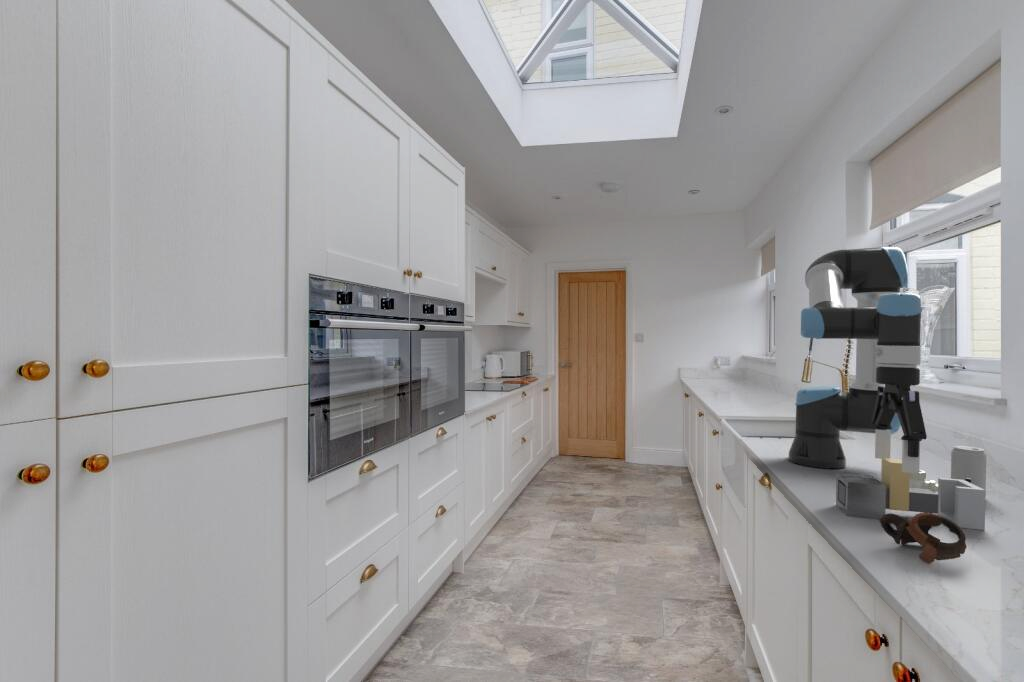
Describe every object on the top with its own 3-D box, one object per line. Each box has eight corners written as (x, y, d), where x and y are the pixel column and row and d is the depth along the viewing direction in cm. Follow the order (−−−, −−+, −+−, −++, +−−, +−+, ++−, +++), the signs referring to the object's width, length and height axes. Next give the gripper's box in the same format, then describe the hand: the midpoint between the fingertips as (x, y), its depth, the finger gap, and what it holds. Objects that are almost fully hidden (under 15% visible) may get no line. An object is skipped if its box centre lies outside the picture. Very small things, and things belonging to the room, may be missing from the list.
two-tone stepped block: (838, 499, 115) (839, 454, 115) (927, 507, 110) (928, 461, 110) (844, 505, 111) (845, 459, 111) (938, 514, 106) (939, 466, 106)
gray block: (835, 505, 116) (836, 473, 116) (871, 508, 114) (872, 476, 114) (847, 515, 109) (847, 481, 109) (885, 519, 107) (886, 485, 107)
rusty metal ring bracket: (956, 553, 92) (973, 522, 88) (951, 592, 86) (970, 561, 82) (877, 521, 99) (890, 491, 95) (868, 556, 93) (881, 525, 89)
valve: (903, 499, 122) (970, 511, 114) (903, 471, 122) (971, 481, 114) (905, 493, 127) (970, 504, 119) (906, 466, 127) (970, 475, 119)
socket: (937, 514, 111) (938, 477, 111) (962, 516, 110) (963, 479, 110) (957, 527, 104) (958, 487, 104) (984, 530, 102) (985, 490, 102)
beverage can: (989, 502, 120) (990, 451, 120) (953, 498, 123) (955, 448, 123) (981, 495, 126) (982, 446, 126) (947, 491, 129) (948, 443, 129)
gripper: (856, 363, 123) (854, 452, 123) (903, 367, 99) (901, 477, 99) (892, 364, 121) (891, 454, 121) (950, 369, 97) (947, 481, 97)
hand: (895, 465), depth 110 cm, fingers open, 13 cm apart
